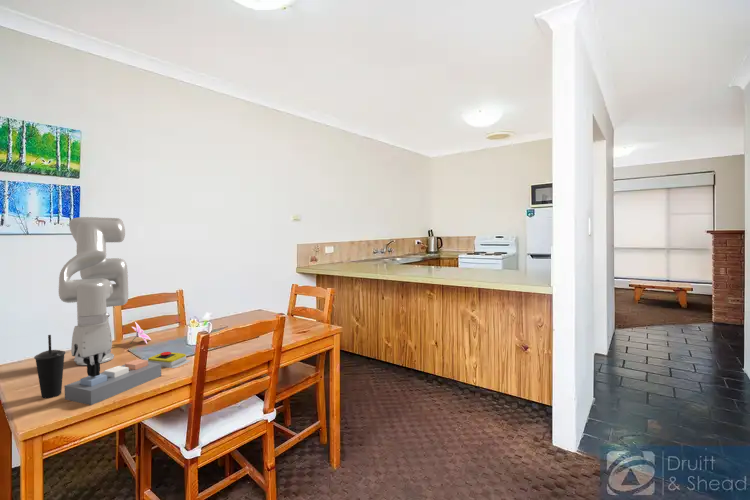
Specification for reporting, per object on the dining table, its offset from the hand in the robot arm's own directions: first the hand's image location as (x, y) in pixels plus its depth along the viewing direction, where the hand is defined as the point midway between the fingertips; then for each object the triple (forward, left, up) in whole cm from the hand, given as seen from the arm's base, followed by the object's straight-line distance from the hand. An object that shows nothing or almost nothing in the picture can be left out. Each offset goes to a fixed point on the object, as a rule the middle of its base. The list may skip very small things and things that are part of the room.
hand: (93, 375), depth 120 cm
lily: (-39, +48, -7) cm, 62 cm away
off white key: (0, +8, -4) cm, 8 cm away
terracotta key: (0, +15, -4) cm, 16 cm away
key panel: (0, +8, -7) cm, 10 cm away
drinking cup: (-14, -4, -7) cm, 16 cm away
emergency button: (-4, +32, -8) cm, 33 cm away
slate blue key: (0, 0, -4) cm, 4 cm away
